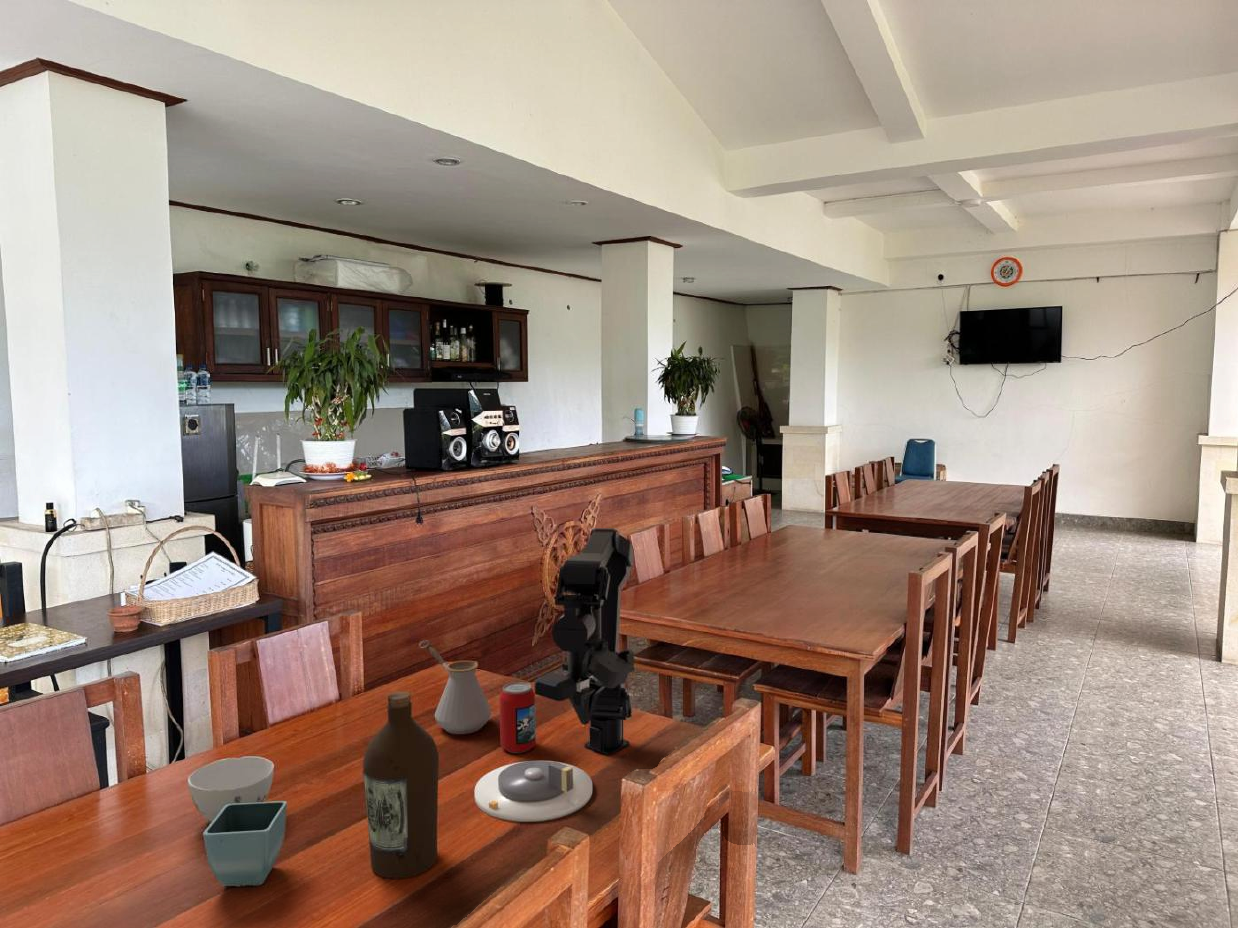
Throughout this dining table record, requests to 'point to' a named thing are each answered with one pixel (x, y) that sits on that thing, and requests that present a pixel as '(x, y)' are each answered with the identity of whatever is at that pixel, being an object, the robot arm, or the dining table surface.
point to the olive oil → (401, 794)
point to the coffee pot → (461, 697)
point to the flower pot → (245, 841)
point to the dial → (535, 780)
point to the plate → (531, 811)
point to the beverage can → (517, 717)
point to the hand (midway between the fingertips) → (585, 723)
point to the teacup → (230, 783)
